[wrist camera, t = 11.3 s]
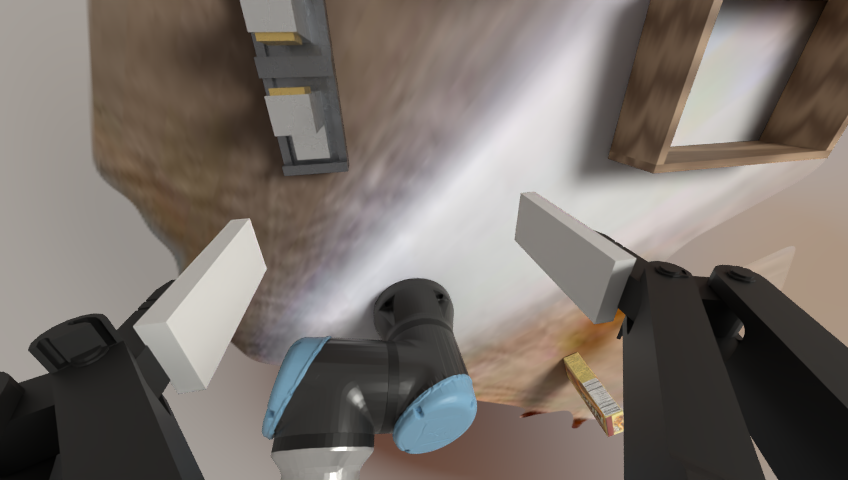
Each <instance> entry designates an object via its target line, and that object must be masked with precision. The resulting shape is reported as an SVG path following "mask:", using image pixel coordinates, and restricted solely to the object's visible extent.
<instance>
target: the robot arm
mask: <svg viewBox="0 0 848 480" xmlns="http://www.w3.org/2000/svg"><path fill="white" fill-rule="evenodd" d="M515 241H516V242H517V243H518V244H519V245H520V246H521V247H522V248H523V249H524V250H525V251H526V252H527V254H528V255H529V256H530V257H531V258H532V259H533V260H534V261H535V262H536V263H537V264H538V265H539V266H540V267H541V268H542V269H543V270H544V271H545V273H546V274H547V275H548V276H549V277H550V278H551V279H552V280H553V281H554V282H555V283H556V284H557V285H558V286H559V287H560V288H561V289H562V290H563V292H564V293H565V294H566V295H567V296H568V297H569V298H570V299H571V300H572V301H573V302H574V303H575V304H576V305H577V306H578V307H579V308H580V309H581V310H582V312H583V313H584V314H585V315H586V316H587V317H588V318H589V319H590V320H591V321H592V322H593V323H594V324H599V323H605V322H611V321H613V320H614V317H615V314H616V312H617V309H618V308H619V309H620V310H621V311H622V312H623V313H624V314H625V315H626V316H625V318H624V321H623V323H622V326H621V328H620V331H619V333H618V336H617V339H621V336H623V412H624V480H765V477H764V474H763V471H762V468H761V465H760V462H759V460H758V457H757V454H756V451H755V448H754V446H753V443H752V440H751V437H752V439H753V440H754V442H755V444H756V445H757V447H758V448H759V450H760V452H761V453H762V455H763V456H764V458H765V460H766V461H767V463H768V464H769V466H770V467H771V469H772V471H773V472H774V474H775V475H776V477H777V479H778V480H848V347H846V346H845V345H844V344H843V343H842V342H840V341H839V340H838V339H837V338H836V337H835V336H833V335H832V334H831V333H830V332H828V331H827V330H826V329H825V328H824V327H823V326H821V325H820V324H819V323H818V322H817V321H815V320H814V319H813V318H812V317H811V316H810V315H808V314H807V313H806V312H805V311H804V310H802V309H801V308H800V307H799V306H798V305H796V304H795V303H794V302H793V301H792V300H790V299H789V298H788V297H787V296H786V295H785V294H783V293H782V292H781V291H780V290H779V289H777V288H776V287H775V286H774V285H773V284H771V283H770V282H769V281H768V280H767V279H765V278H764V277H762V276H761V275H759V274H757V273H755V272H752V271H751V270H750V269H747V268H743V267H739V266H730V265H719V266H716V267H715V268H714V270H713V272H712V274H711V275H710V277H698V276H692V274H691V273H690V272H688V271H687V270H685V269H684V268H682V267H679V266H677V265H675V264H671V263H667V262H661V261H651V262H647V261H646V260H644V259H643V258H641V257H639V256H638V255H636V254H635V253H633V252H632V251H630V250H629V249H627V248H625V247H623V246H622V245H621V244H619V243H618V242H615V241H614V240H613V239H611V238H610V237H608V236H607V235H605V234H602V233H600V232H597V231H594V230H592V229H591V228H589V227H588V226H586V225H585V224H583V223H582V222H580V221H579V220H577V219H575V218H574V217H572V216H571V215H569V214H568V213H566V212H565V211H563V210H562V209H560V208H559V207H557V206H556V205H554V204H553V203H551V202H549V201H548V200H546V199H545V198H543V197H542V196H540V195H539V194H537V193H536V192H527V193H521V196H520V203H519V211H518V218H517V225H516V233H515ZM266 269H267V268H266V265H265V262H264V259H263V256H262V253H261V250H260V248H259V245H258V242H257V239H256V236H255V233H254V230H253V227H252V224H251V221H250V218H248V219H237V220H231V221H230V222H229V223H228V224H227V225H226V226H225V227H224V229H223V230H222V231H221V232H220V233H219V234H218V235H217V236H216V237H215V238H214V239H213V240H212V241H211V243H210V244H209V245H208V246H207V247H206V248H205V249H204V250H203V251H202V252H201V253H200V254H199V255H198V257H197V258H196V259H195V260H194V261H193V262H192V263H191V264H190V265H189V266H188V267H187V268H186V270H185V271H184V272H183V273H182V274H181V275H180V276H179V277H178V278H177V279H176V280H171V281H169V282H168V283H166V284H164V285H163V286H161V287H160V288H159V289H157V290H156V291H155V292H154V293H153V294H152V295H151V296H150V297H149V298H148V299H147V300H146V302H144V303H143V304H142V305H141V306H140V307H139V308H138V311H135V312H134V313H133V314H132V315H131V316H130V317H129V318H128V319H127V320H126V321H125V322H124V323H123V324H122V325H121V326H120V327H119V329H117V330H116V329H115V328H114V327H113V325H112V324H111V322H110V321H109V319H108V318H107V317H106V316H105V315H103V314H89V315H84V316H79V317H76V318H73V319H70V320H67V321H65V322H63V323H61V324H59V325H56V326H54V327H52V328H51V329H49V330H47V331H46V332H44V333H43V334H41V335H40V336H39V337H37V339H35V340H34V341H33V342H32V343H31V345H30V347H29V349H28V351H30V353H31V354H32V355H33V356H34V357H35V358H36V359H37V360H38V361H39V362H40V363H41V364H42V365H43V366H44V367H45V368H46V369H47V370H48V372H49V373H48V374H45V375H42V376H39V377H36V378H33V379H30V380H27V381H23V382H21V383H17V382H16V381H15V380H14V379H13V378H12V377H11V376H10V375H9V374H7V373H5V372H0V480H205V479H204V477H203V475H202V473H201V471H200V469H199V467H198V465H197V463H196V461H195V458H194V456H193V454H192V452H191V450H190V448H189V446H188V444H187V442H186V440H185V437H184V436H183V433H182V431H181V429H180V428H179V425H178V423H177V421H176V419H175V417H174V414H173V412H172V410H171V408H170V406H169V404H168V402H167V400H166V399H165V398H164V396H163V395H162V393H163V391H164V389H165V388H166V386H167V385H168V383H169V382H171V384H172V385H173V387H174V388H175V390H176V391H177V393H178V394H182V393H188V392H194V391H200V390H206V389H207V387H208V385H209V383H210V381H211V379H212V377H213V375H214V373H215V371H216V369H217V367H218V365H219V363H220V361H221V359H222V357H223V355H224V353H225V351H226V349H227V347H228V345H229V343H230V341H231V339H232V337H233V335H234V333H235V331H236V329H237V327H238V325H239V323H240V321H241V319H242V317H243V315H244V313H245V311H246V309H247V307H248V305H249V303H250V301H251V299H252V297H253V295H254V293H255V291H256V289H257V287H258V285H259V283H260V281H261V279H262V277H263V275H264V273H265V271H266ZM453 316H454V309H453V304H452V301H451V299H450V296H449V294H448V292H447V291H446V290H445V289H444V288H443V287H442V286H441V285H440V284H438V283H436V282H434V281H431V280H427V279H419V278H417V279H408V280H404V281H401V282H398V283H396V284H394V285H392V286H391V287H389V288H388V289H386V290H385V291H384V292H383V293H382V294H381V295H380V297H379V298H378V300H377V302H376V304H375V308H374V323H375V327H376V330H377V332H378V334H379V336H380V338H381V340H364V339H345V338H332V337H331V336H327V337H305V338H301V339H299V340H297V341H296V342H295V343H294V344H293V345H292V346H291V347H290V349H289V350H288V352H287V354H286V356H285V358H284V360H283V363H282V365H281V367H280V370H279V372H278V375H277V378H276V381H275V384H274V386H273V389H272V392H271V396H270V399H269V402H268V409H267V411H266V415H265V418H264V421H263V426H262V434H263V436H264V437H267V438H268V439H269V440H270V439H273V438H274V443H273V448H272V452H271V458H272V459H273V461H274V462H275V464H276V465H277V467H278V468H279V470H280V472H281V480H359V474H360V469H361V467H362V465H363V464H364V463H365V461H366V460H367V459H368V458H369V456H370V455H371V454H372V453H373V451H374V434H383V433H384V434H385V433H393V440H394V442H395V443H396V445H397V447H398V448H399V449H400V450H402V451H404V450H405V452H407V453H411V454H419V453H425V452H429V451H433V450H436V449H439V448H441V447H443V446H445V445H447V444H449V443H451V442H452V441H453V440H455V439H457V438H458V437H459V436H461V435H462V434H463V433H464V432H465V431H466V430H467V429H468V428H469V426H470V425H471V423H472V422H473V420H474V418H475V415H476V411H477V401H476V397H475V394H474V390H473V386H472V380H471V378H470V377H469V375H468V372H467V369H466V367H465V364H464V361H463V359H462V356H461V353H460V350H459V348H458V345H457V342H456V340H455V337H454V334H453ZM743 325H744V328H745V335H744V337H743V338H742V337H741V336H740V335H739V333H738V332H739V331H740V329H741V328H742V326H743ZM750 436H751V437H750Z"/></svg>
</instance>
